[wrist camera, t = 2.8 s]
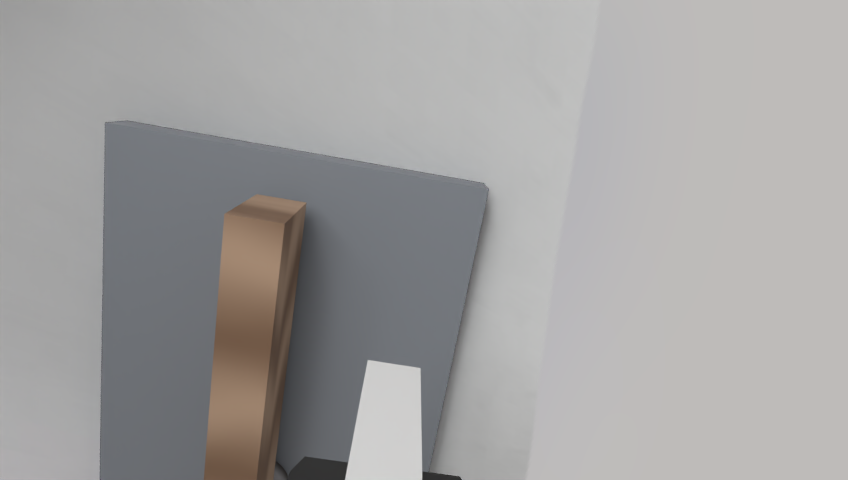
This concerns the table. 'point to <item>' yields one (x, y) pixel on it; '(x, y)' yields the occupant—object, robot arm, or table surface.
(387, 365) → the robot arm
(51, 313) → the table surface
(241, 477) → the brown wooden bar
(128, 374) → the plate
